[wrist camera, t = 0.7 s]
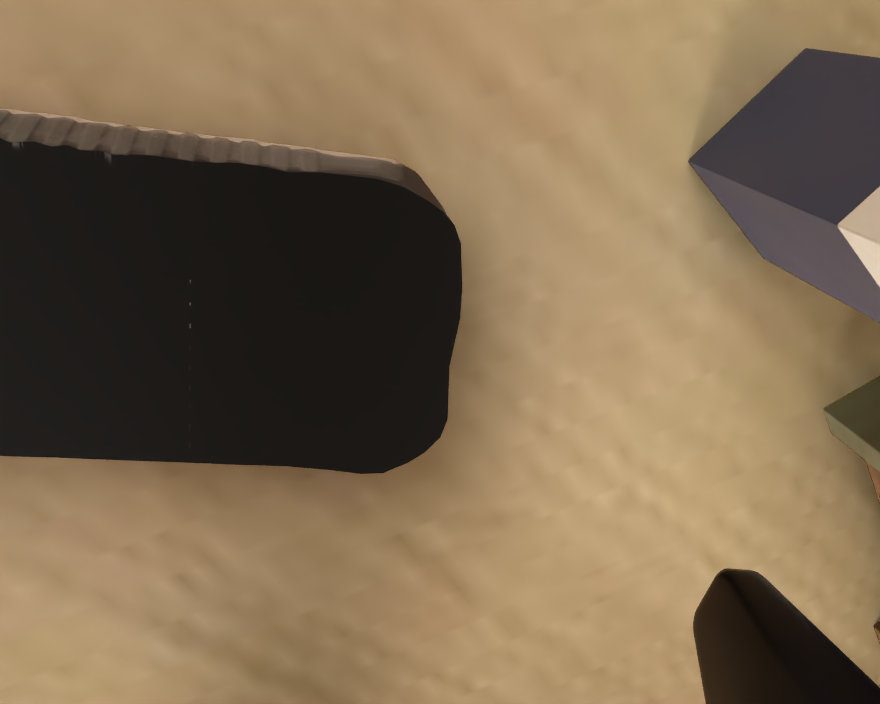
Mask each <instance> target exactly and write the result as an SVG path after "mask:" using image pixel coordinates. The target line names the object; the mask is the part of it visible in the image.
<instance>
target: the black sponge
mask: <svg viewBox="0 0 880 704" xmlns="http://www.w3.org/2000/svg"><path fill="white" fill-rule="evenodd" d="M461 296H462V268H461V243H460V240H459V237H458V234H457V231H456V228H455V226H454V224H453V223H452V221H451V220H450V219H449V217H448V216H447V215H446V213H445V211H444V209H443V207H442V205H441V204H440V203H439V201H438V200H437V199H436V197H435V196H434V195H433V193H432V192H431V190H430V189H429V188H428V186H427V185H426V184H425V182H424V181H423V180H422V178H421V177H420V176H419V175H418V174H417V173H416V172H415V171H413V170H411V169H410V168H408V167H406V166H405V165H403V164H401V163H399V162H398V161H395V160H393V159H389V158H381V157H372V156H366V155H359V154H351V153H343V152H335V151H327V150H319V149H315V148H311V147H302V146H293V145H286V144H275V143H265V142H260V141H258V140H256V139H245V138H231V137H220V136H211V135H205V134H194V133H180V132H176V131H173V130H162V129H152V128H148V127H134V126H129V125H126V126H125V125H120V124H116V123H113V122H98V121H89V120H86V119H82V118H79V117H73V116H63V115H54V114H49V113H32V112H25V111H21V110H11V109H0V456H22V457H59V458H81V459H106V460H133V461H161V462H188V463H211V464H235V465H266V466H291V467H303V468H315V469H327V470H335V471H343V472H351V473H359V474H367V473H384V472H386V471H389V470H391V469H394V468H396V467H398V466H401V465H403V464H406V463H408V462H410V461H411V460H413V459H415V458H416V457H418V456H420V455H421V454H423V453H424V452H425V451H426V450H427V449H429V448H430V447H431V446H432V445H433V444H434V443H435V442H436V441H437V440H438V439H439V438H440V437H441V434H442V432H443V429H444V426H445V424H446V421H447V416H448V388H449V366H450V361H451V357H452V352H453V347H454V343H455V338H456V334H457V329H458V325H459V320H460V310H461Z"/></svg>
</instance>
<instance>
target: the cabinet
mask: <svg viewBox="0 0 880 704" xmlns="http://www.w3.org/2000/svg"><path fill="white" fill-rule="evenodd" d="M874 628H875V631H876V634H877V636H878V639H879V642H880V622H879V623H877V624H876V625H874Z"/></svg>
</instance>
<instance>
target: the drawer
mask: <svg viewBox="0 0 880 704" xmlns="http://www.w3.org/2000/svg"><path fill="white" fill-rule="evenodd" d="M823 411H824V414H825V417H826V420H827V422H828V425H829V428H830V431H831V433H832V434H833V435H834V436H835V437H837V438H838V439H839V440H840V441H842V442H843V443H844V444H845V445H847V446H848V447H849V448H850V449H852V450H853V451H854V452H855V453H857V454H858V455H859V456H860V457H862V458H863V459H864V460H866V462H867V466H868V469H869V472H870V475H871V478H872V481H873V484H874V487H875V490H876V493H877V496H878V499H879V502H880V376H878V377H877V378H875V379H873V380H872V381H870V382H868V383H866V384H865V385H863V386H861V387H859V388H858V389H856V390H854V391H852V392H851V393H849V394H847V395H846V396H844V397H842V398H840V399H839V400H837V401H835V402H833V403H832V404H830V405H828V406H826V407H825V408H823Z"/></svg>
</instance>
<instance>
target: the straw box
mask: <svg viewBox="0 0 880 704" xmlns="http://www.w3.org/2000/svg"><path fill="white" fill-rule="evenodd" d="M689 163H690V165H691V166H692V167H693V168H694V170H695V171H696V172H697V174H698V175H699V176H700V177H701V179H702V180H703V181H704V183H705V184H706V185H707V186H708V188H709V189H710V190H711V192H712V193H713V194H714V195H715V197H716V198H717V199H718V201H719V202H720V203H721V204H722V206H723V207H724V208H725V210H726V211H727V212H728V213H729V215H730V216H731V217H732V219H733V220H734V221H735V222H736V224H737V225H738V226H739V228H740V229H741V230H742V231H743V233H744V234H745V235H746V237H747V238H748V239H749V240H750V242H751V243H752V244H753V246H754V247H755V248H756V249H757V251H758V252H759V253H760V255H761V256H762V257H763V258H764V259H765V260H767V261H769V262H771V263H773V264H774V265H776V266H778V267H780V268H782V269H783V270H785V271H787V272H789V273H791V274H792V275H794V276H796V277H798V278H799V279H801V280H803V281H805V282H807V283H808V284H810V285H812V286H814V287H816V288H817V289H819V290H821V291H823V292H825V293H826V294H828V295H830V296H832V297H834V298H835V299H837V300H839V301H841V302H843V303H844V304H846V305H848V306H850V307H852V308H853V309H855V310H857V311H859V312H861V313H862V314H864V315H866V316H868V317H870V318H871V319H873V320H875V321H877V322H879V323H880V58H877V57H869V56H862V55H854V54H846V53H839V52H831V51H824V50H816V49H808V48H806V49H804V50H803V51H802V52H801V53H800V54H799V55H798V56H797V57H796V58H795V59H794V60H793V61H792V62H791V63H790V64H788V65H787V66H786V67H785V68H784V69H783V70H782V71H781V72H780V73H779V74H778V75H777V76H776V77H775V78H774V79H773V80H772V81H771V82H770V83H769V84H768V85H767V86H766V87H764V88H763V89H762V90H761V91H760V92H759V93H758V94H757V95H756V96H755V97H754V98H753V99H752V100H751V101H750V102H749V103H748V104H747V105H746V106H745V107H744V108H743V109H741V110H740V111H739V112H738V113H737V114H736V115H735V116H734V117H733V118H732V119H731V120H730V121H729V122H728V123H727V124H726V125H725V126H724V127H723V128H722V129H721V130H720V131H719V132H717V133H716V134H715V135H714V136H713V137H712V138H711V139H710V140H709V141H708V142H707V143H706V144H705V145H704V146H703V147H702V148H701V149H700V150H699V151H698V152H697V153H696V154H694V155H693V156H692V157H691V158H690V159H689Z"/></svg>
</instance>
